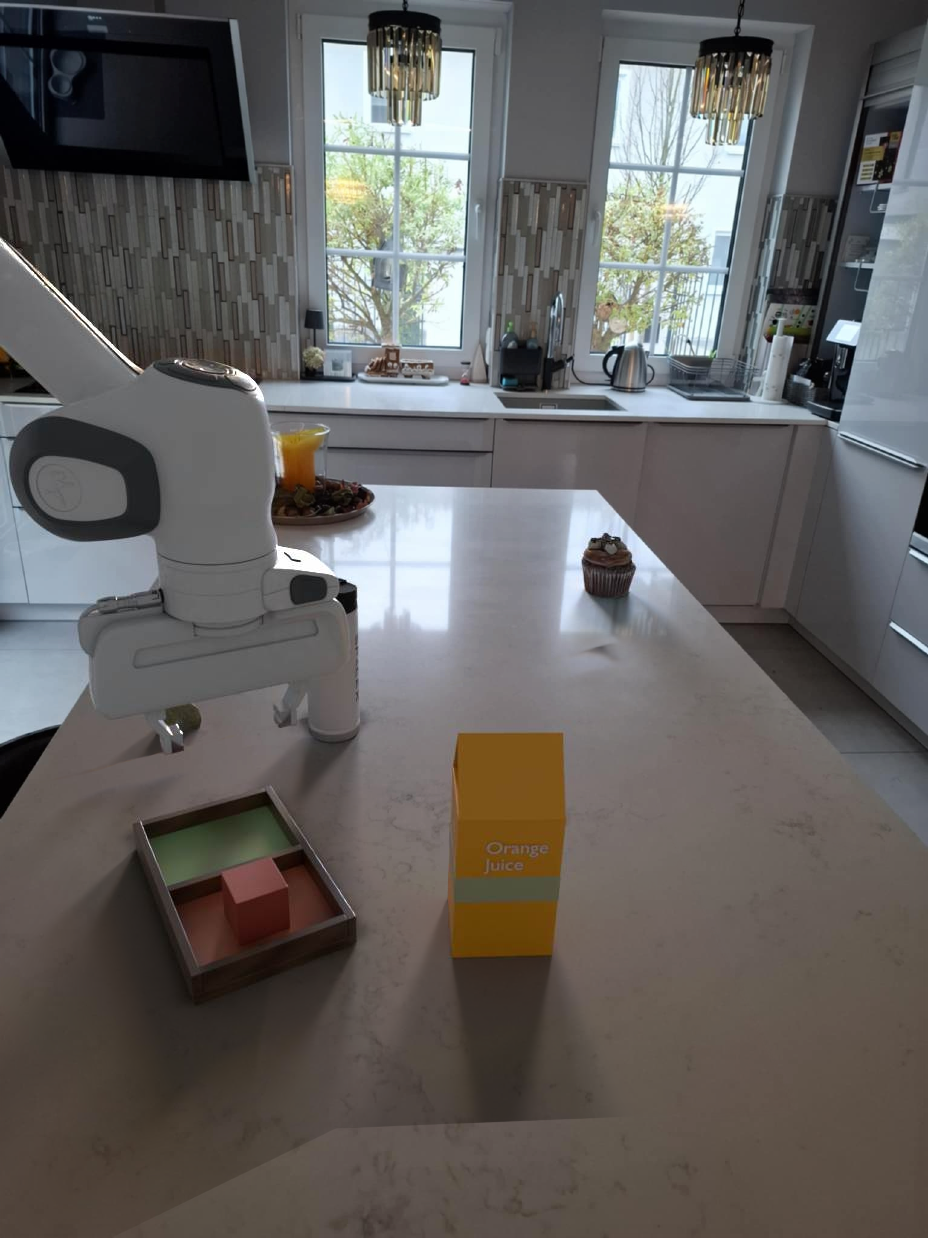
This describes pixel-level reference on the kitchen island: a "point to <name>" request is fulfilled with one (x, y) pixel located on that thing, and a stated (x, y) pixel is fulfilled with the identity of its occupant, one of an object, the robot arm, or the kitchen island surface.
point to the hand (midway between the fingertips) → (230, 736)
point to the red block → (255, 900)
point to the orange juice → (505, 843)
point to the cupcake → (607, 567)
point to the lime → (183, 717)
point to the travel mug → (338, 684)
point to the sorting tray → (193, 901)
